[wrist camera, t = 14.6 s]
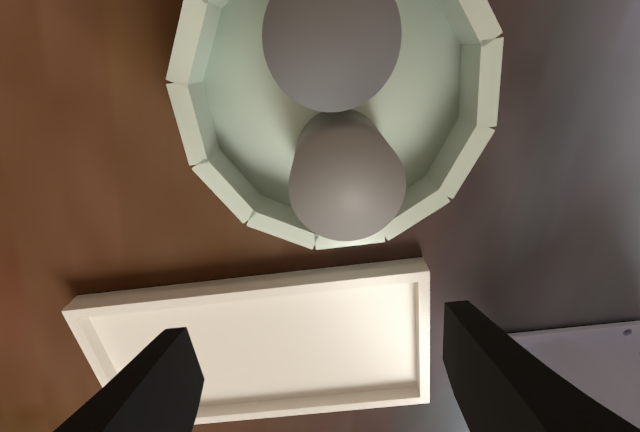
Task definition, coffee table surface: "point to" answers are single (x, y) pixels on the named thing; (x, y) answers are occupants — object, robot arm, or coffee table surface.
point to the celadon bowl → (290, 117)
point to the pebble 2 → (345, 177)
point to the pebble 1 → (331, 49)
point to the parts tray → (278, 337)
